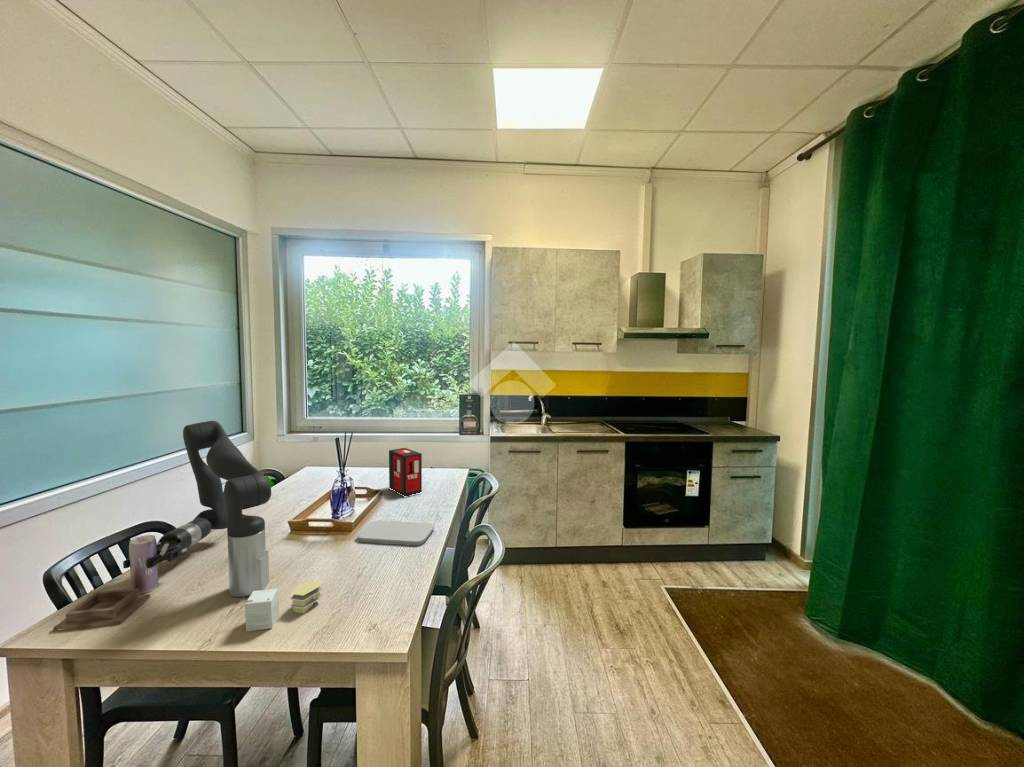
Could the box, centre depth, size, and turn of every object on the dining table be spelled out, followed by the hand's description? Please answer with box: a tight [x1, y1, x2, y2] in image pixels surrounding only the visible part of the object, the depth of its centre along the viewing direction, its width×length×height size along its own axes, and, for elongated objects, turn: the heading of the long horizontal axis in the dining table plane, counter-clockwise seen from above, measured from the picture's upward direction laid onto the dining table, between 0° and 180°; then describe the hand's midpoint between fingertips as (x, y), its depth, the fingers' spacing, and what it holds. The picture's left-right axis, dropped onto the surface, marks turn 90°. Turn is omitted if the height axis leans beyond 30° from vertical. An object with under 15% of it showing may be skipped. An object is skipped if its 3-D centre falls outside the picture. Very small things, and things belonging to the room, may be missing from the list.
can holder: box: [53, 588, 151, 631], centre depth 111 cm, size 14×12×4 cm
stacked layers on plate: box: [290, 581, 323, 614], centre depth 116 cm, size 10×9×6 cm
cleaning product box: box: [388, 447, 423, 497], centre depth 212 cm, size 16×9×20 cm, turn 43°
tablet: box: [356, 519, 435, 546], centre depth 161 cm, size 16×26×2 cm, turn 83°
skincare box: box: [244, 588, 280, 632], centre depth 108 cm, size 6×6×7 cm
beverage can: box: [128, 534, 159, 595], centre depth 122 cm, size 6×6×15 cm
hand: (136, 565), depth 120 cm, fingers closed on beverage can, 6 cm apart
